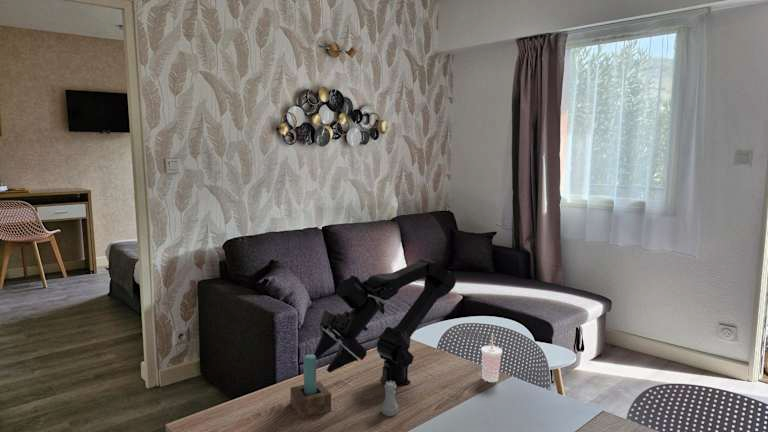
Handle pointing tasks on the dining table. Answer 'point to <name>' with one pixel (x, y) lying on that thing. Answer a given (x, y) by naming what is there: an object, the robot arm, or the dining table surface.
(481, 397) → the dining table surface
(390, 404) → the rook chess piece
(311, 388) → the teal pin
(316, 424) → the dining table surface
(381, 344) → the robot arm
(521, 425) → the dining table surface
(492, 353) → the beverage cup
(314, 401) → the walnut hole block
